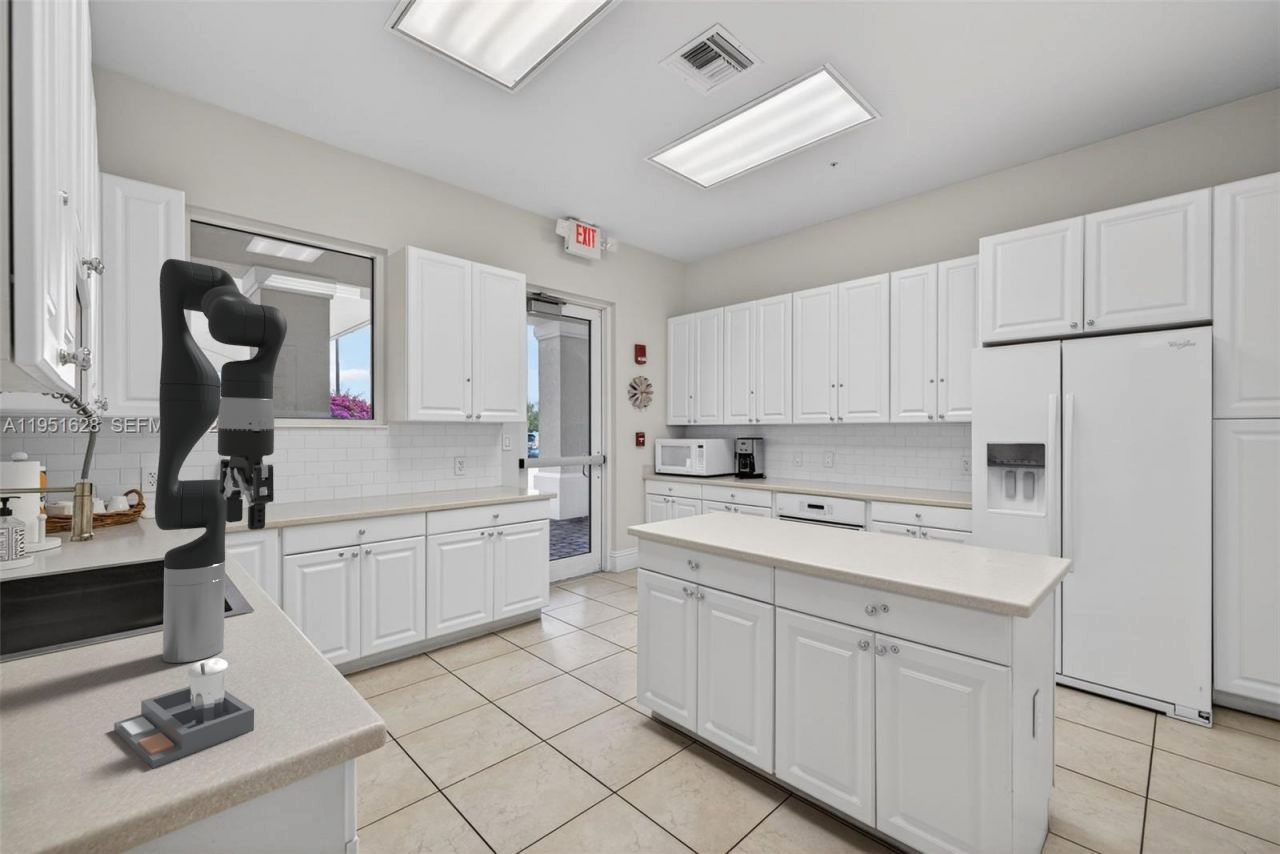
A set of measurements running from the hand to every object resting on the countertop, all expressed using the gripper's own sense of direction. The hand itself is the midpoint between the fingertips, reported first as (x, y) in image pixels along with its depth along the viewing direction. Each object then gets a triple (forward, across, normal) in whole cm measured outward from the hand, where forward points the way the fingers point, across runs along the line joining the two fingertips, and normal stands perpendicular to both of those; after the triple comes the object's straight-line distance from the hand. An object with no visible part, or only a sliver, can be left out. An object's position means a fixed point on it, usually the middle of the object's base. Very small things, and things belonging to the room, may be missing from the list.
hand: (245, 525), depth 93 cm
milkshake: (+26, +10, -8) cm, 29 cm away
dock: (+27, +6, -10) cm, 30 cm away
